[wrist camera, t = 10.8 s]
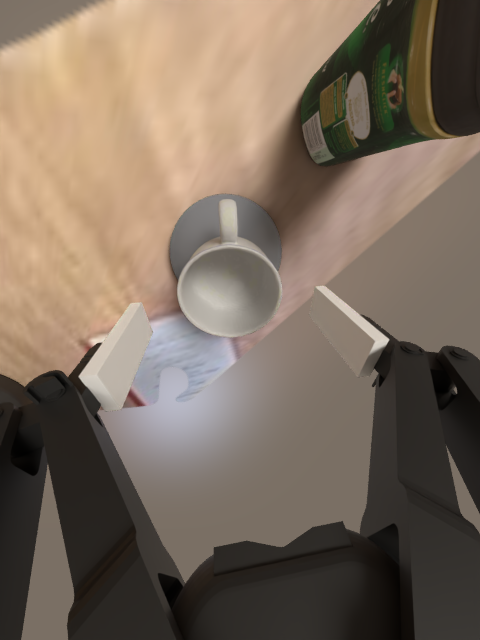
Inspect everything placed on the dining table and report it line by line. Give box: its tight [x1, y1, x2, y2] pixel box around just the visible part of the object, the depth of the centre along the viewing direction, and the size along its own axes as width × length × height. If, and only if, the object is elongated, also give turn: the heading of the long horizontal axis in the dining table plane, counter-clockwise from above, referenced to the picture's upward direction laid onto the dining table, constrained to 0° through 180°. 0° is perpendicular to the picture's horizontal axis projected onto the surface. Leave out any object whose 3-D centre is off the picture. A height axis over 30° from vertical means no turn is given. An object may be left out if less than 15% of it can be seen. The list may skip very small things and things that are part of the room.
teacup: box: [177, 199, 282, 338], centre depth 22 cm, size 14×11×8 cm
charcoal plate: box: [170, 194, 282, 280], centre depth 26 cm, size 15×15×2 cm
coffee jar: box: [301, 0, 480, 166], centre depth 12 cm, size 10×8×19 cm
